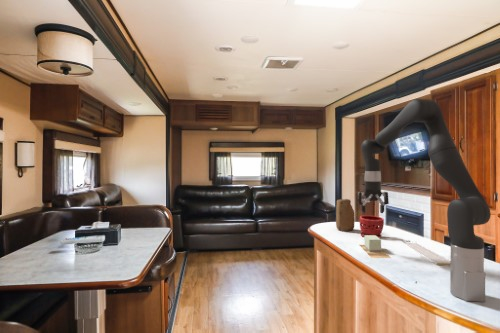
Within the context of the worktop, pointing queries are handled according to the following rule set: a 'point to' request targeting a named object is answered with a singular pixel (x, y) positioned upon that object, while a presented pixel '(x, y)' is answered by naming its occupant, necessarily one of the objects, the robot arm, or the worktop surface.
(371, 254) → the oak board
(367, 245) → the block
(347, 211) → the block
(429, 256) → the baseboard
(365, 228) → the plant pot
